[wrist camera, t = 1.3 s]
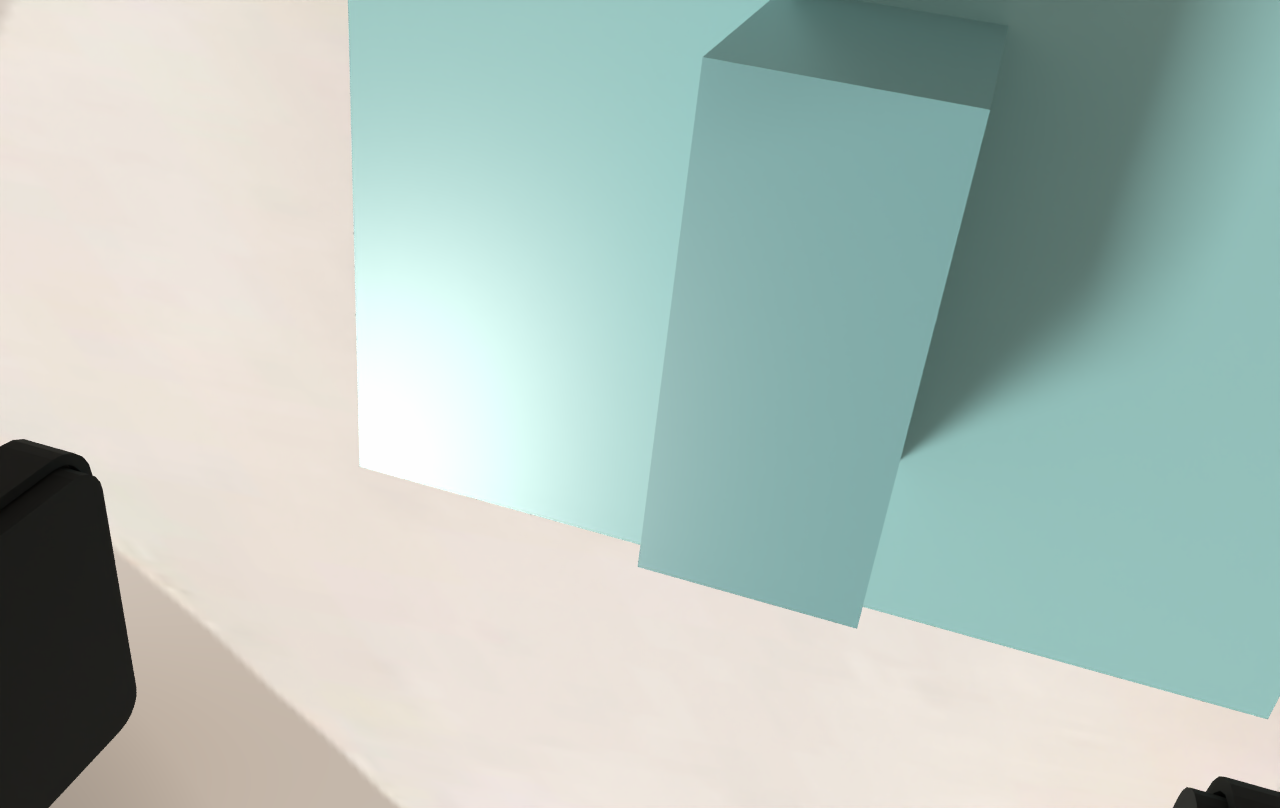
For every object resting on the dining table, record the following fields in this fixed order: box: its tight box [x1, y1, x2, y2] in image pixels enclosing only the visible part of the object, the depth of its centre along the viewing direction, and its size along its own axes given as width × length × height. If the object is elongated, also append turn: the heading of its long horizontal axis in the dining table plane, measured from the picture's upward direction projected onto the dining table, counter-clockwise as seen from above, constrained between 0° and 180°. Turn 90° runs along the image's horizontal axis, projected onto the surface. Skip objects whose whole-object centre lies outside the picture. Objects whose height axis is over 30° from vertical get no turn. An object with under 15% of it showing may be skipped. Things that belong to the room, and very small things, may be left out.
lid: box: [348, 0, 1280, 719], centre depth 19 cm, size 19×15×8 cm
